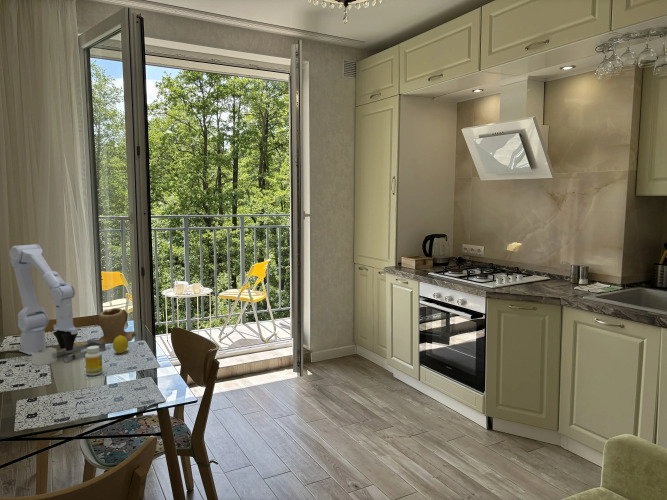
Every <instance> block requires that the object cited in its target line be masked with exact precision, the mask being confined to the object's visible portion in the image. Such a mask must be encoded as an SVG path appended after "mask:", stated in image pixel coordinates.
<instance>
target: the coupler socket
mask: <svg viewBox="0 0 667 500" xmlns="http://www.w3.org/2000/svg"><path fill="white" fill-rule="evenodd" d="M86 343H87V344H83V345H79V346H75V345H74V346H73V349H72V350H70V351H66V348H63V349H60V350H57V357H61V356H64V355H67V354H69V355H67V356H65V357H63V360H64V361H63V362H64V364H68V363H70V362H72V361H73V360H79V359H82V358H85V357H84V356H85V355H86V354H87V353H88V352H87V350H84V349H87V348H88V347H90V346H99V352H101V351H102V352H105V351H107V350H106V349H107V348H106V344H105V343H102V342H99V341H98V340H95V339H87V341H86ZM81 350H83V351H81ZM77 351H80V352H77ZM74 352H77V353H74ZM102 352H101V353H102Z"/></svg>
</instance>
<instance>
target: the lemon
mask: <svg viewBox="0 0 667 500" xmlns="http://www.w3.org/2000/svg"><path fill="white" fill-rule="evenodd" d="M128 342H129V341H127V339H126V338H125V337H124V336H121V335H119V336H117V337H116V338H115V339H114V342H113V343H112V347H113V350H114V352H116V353H118V354H119V353H122V354H123V353H125V352H126V351H127V349H128V347H129V343H128Z"/></svg>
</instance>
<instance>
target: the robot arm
mask: <svg viewBox="0 0 667 500" xmlns="http://www.w3.org/2000/svg"><path fill="white" fill-rule="evenodd" d="M43 251H44V250H43V249H42V247H41V245H40V244H37V243H32V244H26V245H25V244H24V245H12V247H11V248H10V249H9V251H8V254H9V259H10V263H11V267H12V268H13V271H14V275H15V278H16V279H15V280H16V283H17V287H18V292H19V296H20V299H21V301H20V302H21V304H22V305H21V306H22V309H21V310H20V311H19V312H18V313H17V328H19V330H20V331H21V333H20V347H21V349H19V350H18V352H21V353H24V354H27V355H30V356H32V351H36V350H40V349H45V348H47V347H46V337H45V336H46V335H45V334H46V333H45V329H47V326H48V324H49V322H50V318H49V315H48V314H47V312H46V309H45V308H44V307H42V306H41V305H39V304H38V303H39V302H38V299H37V298H38V297H37V295H36V294H37V293H36V291H35V287H34V282H33V277H32V274H31V267H32V266H34V268H36V269H37V271H38V272H39V273H40V274H42V281H43V282H44V284H45V285H46V286H47V287H48V289H49V290H50V292H51V293H50V297H51V299H52V300H53V304H54V306H55V321H56V322H55V323H56V324H53V325H52V326H53V327H52V328H53V333H52V334H53V335H54V337H55V338H56V340H57V343H58V347H59V348H60V350H63V349H66V351H70V350H72V349H73V347H74V346H75V344H74V343H75V342H76V338H77V336H79V335H78V334H79V333H78V328H77V327H75V325H74V317H73V298H74V297H75V295H76V291H75V288H74V286H73V285H72V284H70V283H68V282H65V281H64V279H63V278H62V276H61V275H60V274H59V272H58V271H56V270H52V269H51V267H50V266H49V264H48V263H47V261H46V259H45V257H44V256H43V255H44V252H43Z"/></svg>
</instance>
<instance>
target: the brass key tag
mask: <svg viewBox="0 0 667 500" xmlns="http://www.w3.org/2000/svg"><path fill="white" fill-rule="evenodd" d="M83 344H87V342H85V341H84V342H83V341H75V342H74V347H75V346H79V345H83Z"/></svg>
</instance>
